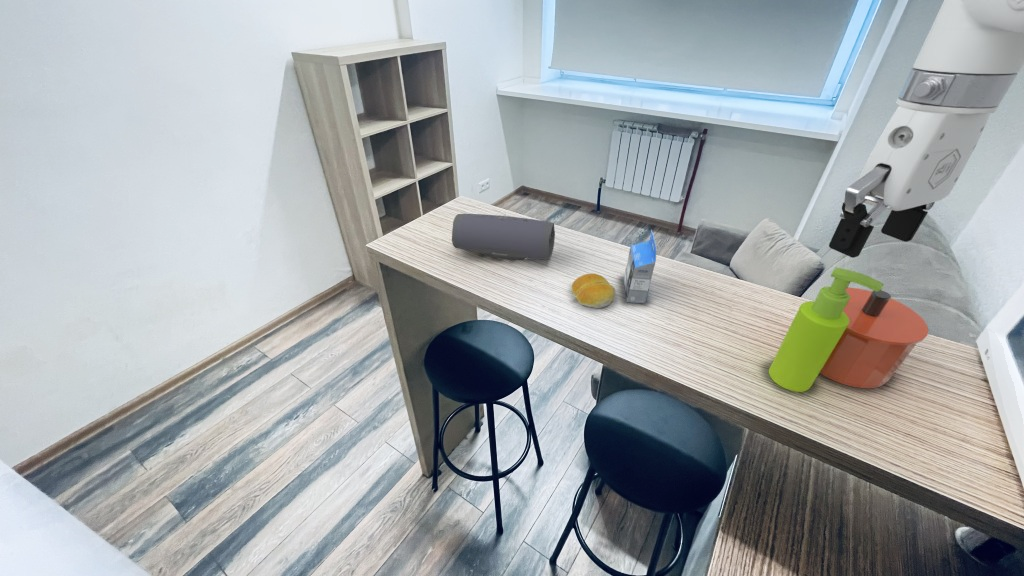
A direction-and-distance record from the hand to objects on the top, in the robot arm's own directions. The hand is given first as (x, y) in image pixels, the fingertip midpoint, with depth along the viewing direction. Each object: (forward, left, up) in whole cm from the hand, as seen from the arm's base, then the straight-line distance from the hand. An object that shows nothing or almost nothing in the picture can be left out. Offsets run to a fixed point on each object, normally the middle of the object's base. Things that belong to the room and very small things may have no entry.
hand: (869, 244), depth 50 cm
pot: (0, -12, -25) cm, 27 cm away
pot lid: (0, -12, -15) cm, 19 cm away
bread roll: (+32, +17, -25) cm, 44 cm away
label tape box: (+30, +8, -25) cm, 40 cm away
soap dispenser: (0, 0, -25) cm, 25 cm away
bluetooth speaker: (+55, +27, -25) cm, 66 cm away
